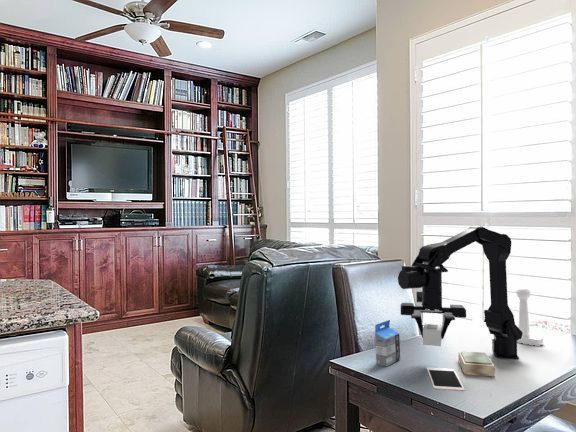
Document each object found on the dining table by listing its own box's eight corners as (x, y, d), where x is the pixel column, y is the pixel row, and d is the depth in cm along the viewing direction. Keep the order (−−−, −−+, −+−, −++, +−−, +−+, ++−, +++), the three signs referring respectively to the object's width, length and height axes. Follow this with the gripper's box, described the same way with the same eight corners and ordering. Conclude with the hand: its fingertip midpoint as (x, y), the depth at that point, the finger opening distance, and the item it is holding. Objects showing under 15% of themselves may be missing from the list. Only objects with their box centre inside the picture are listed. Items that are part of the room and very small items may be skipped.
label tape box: (386, 367, 129) (386, 326, 129) (375, 364, 132) (374, 324, 132) (400, 360, 136) (400, 321, 136) (389, 357, 139) (388, 319, 139)
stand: (486, 362, 132) (486, 351, 132) (494, 376, 121) (494, 364, 121) (458, 360, 134) (458, 350, 134) (464, 374, 123) (464, 362, 123)
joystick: (505, 340, 157) (504, 285, 157) (514, 336, 162) (513, 283, 162) (538, 346, 148) (537, 289, 148) (546, 342, 153) (545, 286, 153)
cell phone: (454, 370, 127) (453, 368, 127) (465, 392, 111) (465, 389, 111) (426, 369, 128) (426, 367, 128) (433, 390, 113) (433, 387, 113)
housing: (441, 339, 133) (441, 324, 133) (440, 346, 126) (440, 330, 126) (425, 337, 135) (424, 322, 135) (422, 344, 128) (422, 328, 128)
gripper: (460, 284, 136) (461, 333, 136) (400, 282, 141) (400, 330, 141) (466, 289, 125) (466, 343, 125) (400, 287, 130) (401, 339, 130)
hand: (432, 338), depth 131 cm, fingers closed on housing, 5 cm apart
